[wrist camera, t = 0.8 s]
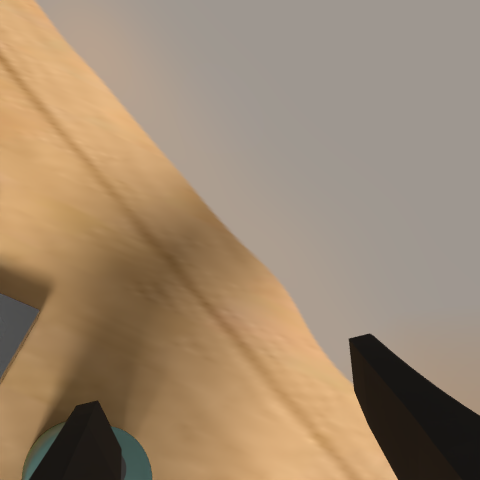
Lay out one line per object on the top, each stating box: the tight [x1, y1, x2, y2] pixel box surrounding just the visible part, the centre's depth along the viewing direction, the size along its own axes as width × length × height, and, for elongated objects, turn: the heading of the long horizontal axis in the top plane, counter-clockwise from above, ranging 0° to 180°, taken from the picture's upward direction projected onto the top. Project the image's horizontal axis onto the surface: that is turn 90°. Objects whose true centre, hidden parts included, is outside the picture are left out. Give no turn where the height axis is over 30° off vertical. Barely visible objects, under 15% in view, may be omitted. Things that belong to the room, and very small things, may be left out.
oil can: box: [22, 422, 152, 480], centre depth 18 cm, size 4×4×8 cm
